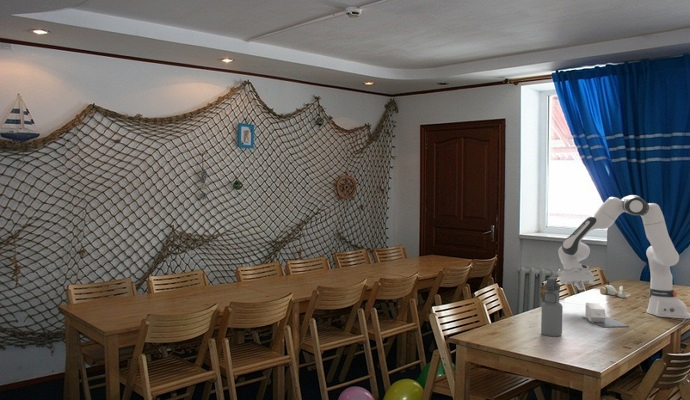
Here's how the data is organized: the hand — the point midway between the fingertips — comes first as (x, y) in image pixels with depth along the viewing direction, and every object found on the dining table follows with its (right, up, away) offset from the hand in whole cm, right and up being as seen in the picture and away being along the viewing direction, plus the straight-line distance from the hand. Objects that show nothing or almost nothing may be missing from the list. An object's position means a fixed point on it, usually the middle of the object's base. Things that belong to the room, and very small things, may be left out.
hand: (581, 289), depth 345 cm
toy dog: (+42, -12, +51) cm, 67 cm away
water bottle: (-34, -15, -49) cm, 61 cm away
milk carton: (+2, -10, -11) cm, 15 cm away
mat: (+4, -14, -24) cm, 28 cm away
